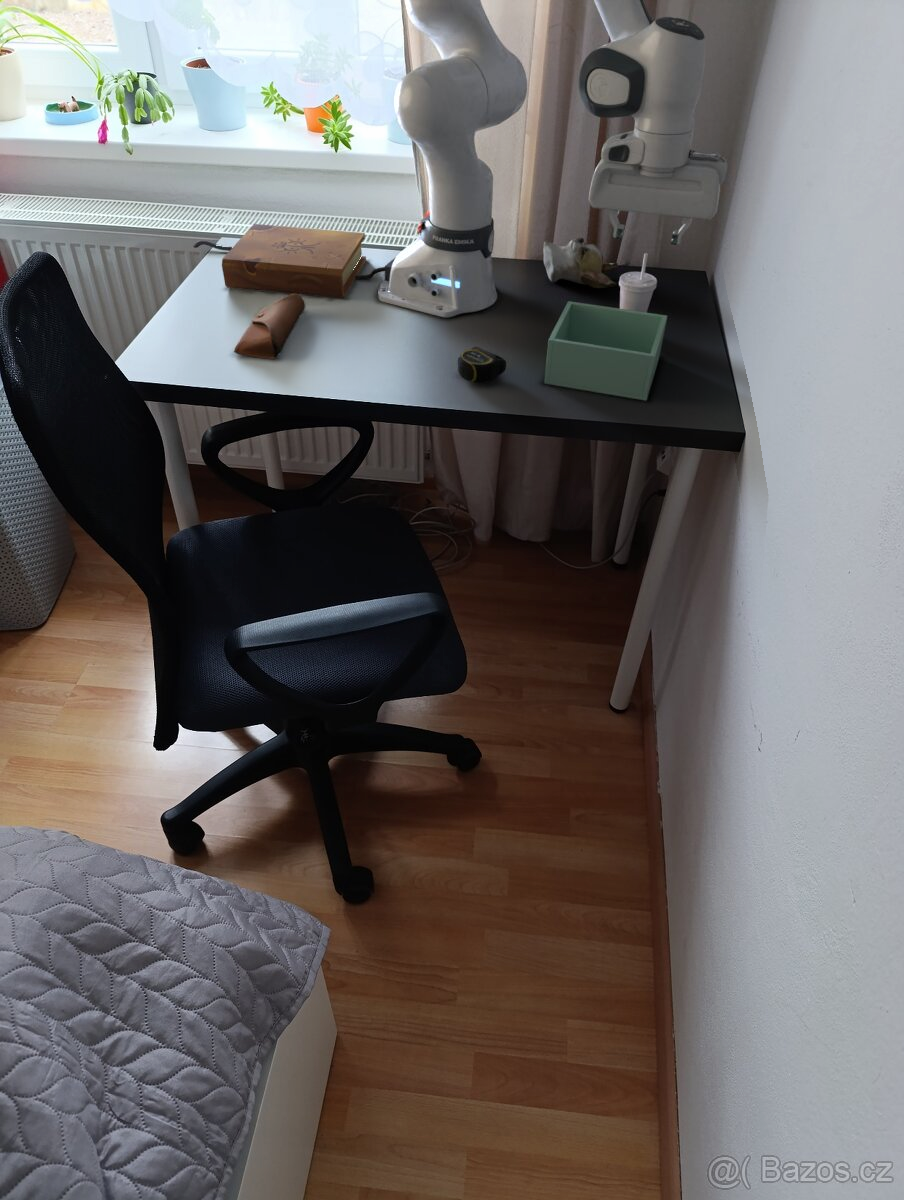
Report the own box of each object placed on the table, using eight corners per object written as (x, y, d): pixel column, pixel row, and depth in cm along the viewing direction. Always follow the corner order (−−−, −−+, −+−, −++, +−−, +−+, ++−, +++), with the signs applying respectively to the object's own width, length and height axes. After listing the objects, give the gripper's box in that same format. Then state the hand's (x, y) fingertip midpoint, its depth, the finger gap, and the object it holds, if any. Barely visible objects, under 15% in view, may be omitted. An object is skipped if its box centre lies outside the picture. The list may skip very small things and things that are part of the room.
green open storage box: (544, 383, 135) (548, 339, 130) (563, 343, 145) (568, 301, 140) (646, 400, 131) (655, 356, 126) (659, 358, 141) (667, 315, 136)
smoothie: (646, 342, 145) (661, 262, 136) (610, 338, 146) (622, 259, 136) (648, 326, 150) (662, 247, 140) (612, 322, 151) (624, 244, 141)
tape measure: (507, 377, 136) (509, 356, 134) (479, 392, 133) (480, 370, 130) (477, 362, 140) (477, 341, 137) (448, 377, 136) (448, 355, 134)
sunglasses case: (260, 306, 153) (274, 276, 149) (295, 327, 155) (309, 298, 151) (231, 353, 140) (245, 322, 136) (269, 375, 142) (284, 345, 138)
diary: (226, 290, 159) (220, 260, 155) (257, 252, 172) (253, 223, 168) (343, 300, 156) (340, 269, 152) (366, 260, 170) (364, 231, 166)
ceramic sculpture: (547, 222, 161) (624, 233, 160) (541, 266, 168) (615, 277, 167) (542, 244, 154) (623, 255, 153) (536, 289, 160) (613, 300, 159)
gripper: (732, 148, 127) (712, 240, 137) (599, 136, 132) (589, 227, 141) (729, 160, 123) (709, 254, 132) (591, 148, 127) (582, 240, 137)
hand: (646, 240), depth 137 cm, fingers open, 8 cm apart
